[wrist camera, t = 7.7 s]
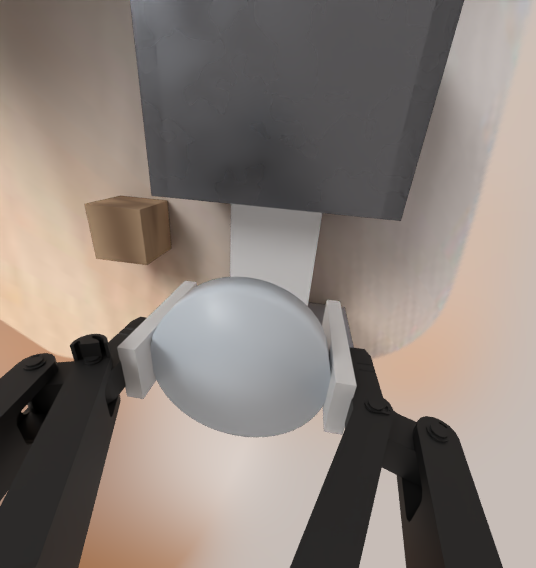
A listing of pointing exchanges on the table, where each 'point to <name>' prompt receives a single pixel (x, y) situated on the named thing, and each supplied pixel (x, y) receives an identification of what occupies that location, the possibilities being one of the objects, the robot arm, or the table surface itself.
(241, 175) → the dark grey drawer housing
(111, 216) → the brown block
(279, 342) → the disc
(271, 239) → the grey drawer
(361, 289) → the table surface
